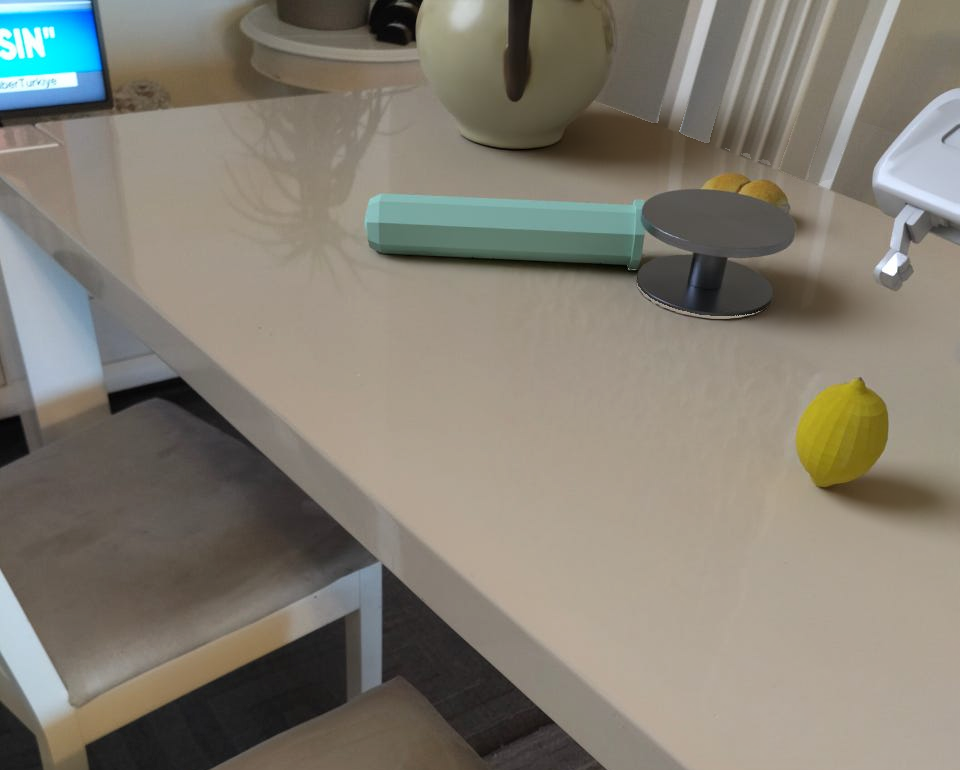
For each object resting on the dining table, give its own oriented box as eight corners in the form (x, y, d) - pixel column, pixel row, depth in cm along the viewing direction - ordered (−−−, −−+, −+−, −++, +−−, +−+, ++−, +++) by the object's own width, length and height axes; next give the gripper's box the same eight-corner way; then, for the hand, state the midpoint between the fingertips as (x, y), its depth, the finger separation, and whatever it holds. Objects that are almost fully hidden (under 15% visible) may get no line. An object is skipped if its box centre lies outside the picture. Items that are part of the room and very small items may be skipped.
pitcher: (520, 95, 126) (538, -152, 109) (651, 148, 114) (695, -121, 96) (378, 122, 116) (372, -147, 98) (505, 184, 103) (524, -112, 86)
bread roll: (718, 196, 104) (727, 156, 101) (795, 220, 100) (806, 179, 97) (678, 216, 99) (685, 175, 96) (756, 242, 95) (766, 200, 92)
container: (359, 184, 84) (648, 197, 84) (368, 188, 90) (639, 201, 90) (359, 257, 86) (641, 271, 86) (368, 257, 92) (633, 270, 92)
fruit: (877, 509, 64) (922, 401, 58) (795, 508, 63) (832, 399, 58) (850, 461, 68) (889, 356, 62) (772, 460, 67) (805, 354, 62)
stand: (795, 282, 89) (815, 211, 84) (748, 337, 81) (767, 262, 76) (664, 247, 93) (676, 178, 89) (606, 295, 85) (616, 222, 81)
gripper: (1276, 212, 55) (1100, 408, 58) (968, 111, 67) (832, 278, 69) (1291, 138, 50) (1097, 357, 53) (955, 43, 62) (808, 226, 64)
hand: (944, 311), depth 61 cm, fingers open, 8 cm apart
